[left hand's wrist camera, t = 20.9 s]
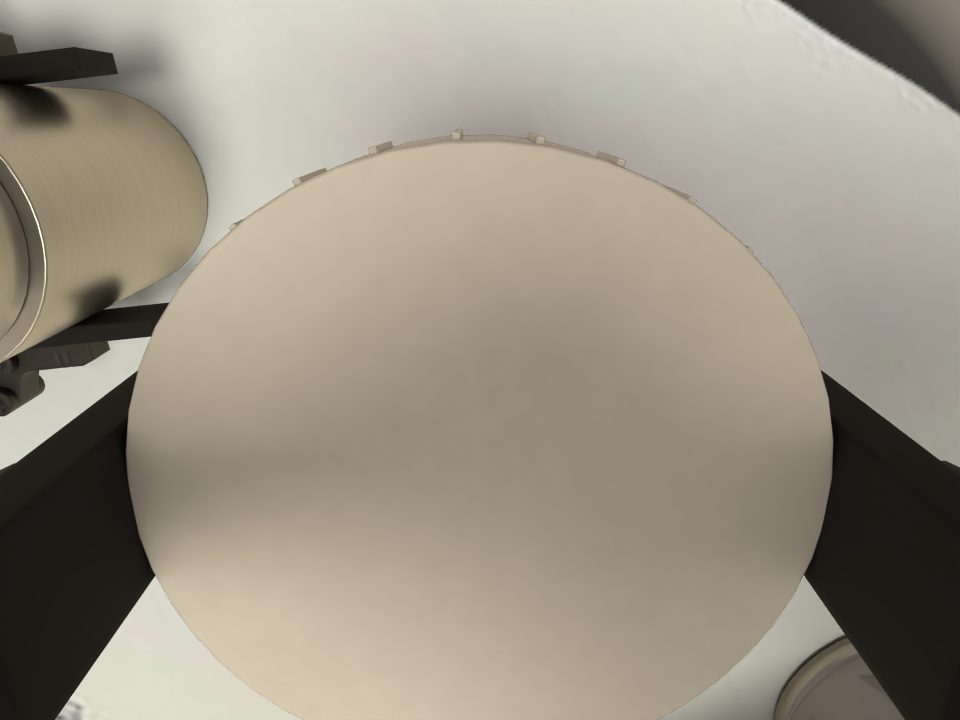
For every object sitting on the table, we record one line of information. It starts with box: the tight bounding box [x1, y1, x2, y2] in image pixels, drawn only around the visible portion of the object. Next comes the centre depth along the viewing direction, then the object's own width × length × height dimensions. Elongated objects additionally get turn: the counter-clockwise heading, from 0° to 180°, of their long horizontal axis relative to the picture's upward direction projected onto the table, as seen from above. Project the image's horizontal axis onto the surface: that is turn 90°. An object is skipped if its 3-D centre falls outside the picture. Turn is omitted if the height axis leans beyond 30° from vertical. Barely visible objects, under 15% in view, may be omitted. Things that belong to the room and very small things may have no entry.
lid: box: [126, 129, 833, 720], centre depth 11 cm, size 10×10×2 cm
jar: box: [0, 84, 208, 363], centre depth 27 cm, size 10×10×16 cm
